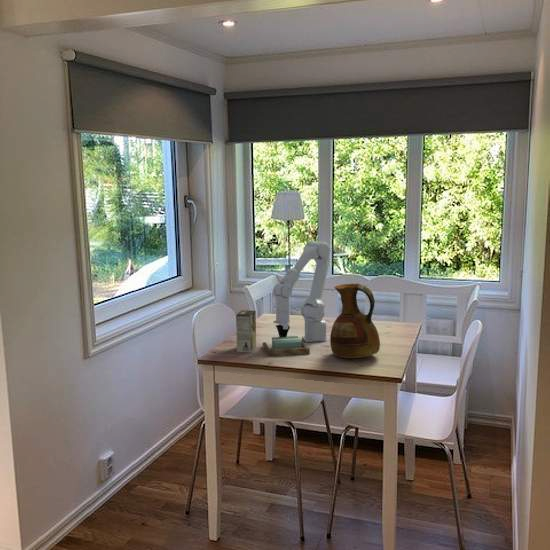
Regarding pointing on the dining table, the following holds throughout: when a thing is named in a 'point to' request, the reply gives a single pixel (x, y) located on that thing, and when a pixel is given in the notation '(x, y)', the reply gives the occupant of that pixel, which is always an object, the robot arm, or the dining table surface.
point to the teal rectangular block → (286, 342)
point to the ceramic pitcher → (354, 325)
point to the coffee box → (246, 331)
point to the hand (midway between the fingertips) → (282, 341)
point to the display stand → (286, 350)
